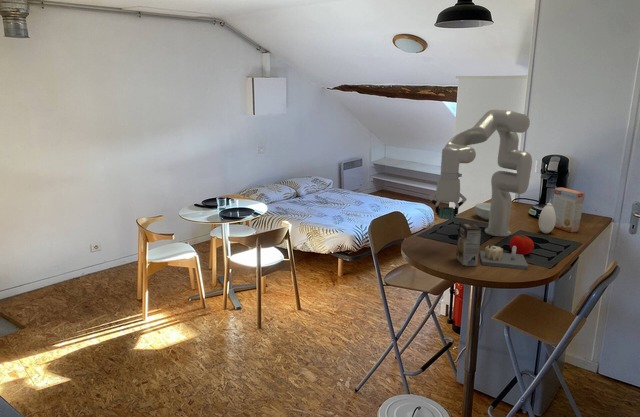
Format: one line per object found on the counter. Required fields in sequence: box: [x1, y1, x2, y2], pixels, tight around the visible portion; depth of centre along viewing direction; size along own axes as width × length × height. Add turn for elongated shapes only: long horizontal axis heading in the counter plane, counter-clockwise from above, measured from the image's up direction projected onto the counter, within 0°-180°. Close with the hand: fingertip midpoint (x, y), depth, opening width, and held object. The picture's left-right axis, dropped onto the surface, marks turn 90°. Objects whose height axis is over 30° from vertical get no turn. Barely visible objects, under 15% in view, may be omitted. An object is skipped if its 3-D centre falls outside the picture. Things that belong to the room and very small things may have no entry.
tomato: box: [509, 234, 535, 256], centre depth 222 cm, size 9×10×8 cm
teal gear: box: [437, 206, 455, 221], centre depth 220 cm, size 7×7×4 cm
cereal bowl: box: [474, 202, 491, 221], centre depth 277 cm, size 17×17×7 cm
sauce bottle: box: [538, 198, 556, 234], centre depth 252 cm, size 8×8×18 cm
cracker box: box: [552, 186, 585, 233], centre depth 259 cm, size 14×6×21 cm, turn 22°
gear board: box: [479, 243, 529, 270], centre depth 212 cm, size 14×18×7 cm
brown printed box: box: [455, 222, 482, 267], centre depth 209 cm, size 9×6×16 cm
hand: (446, 214), depth 221 cm, fingers closed on teal gear, 7 cm apart
